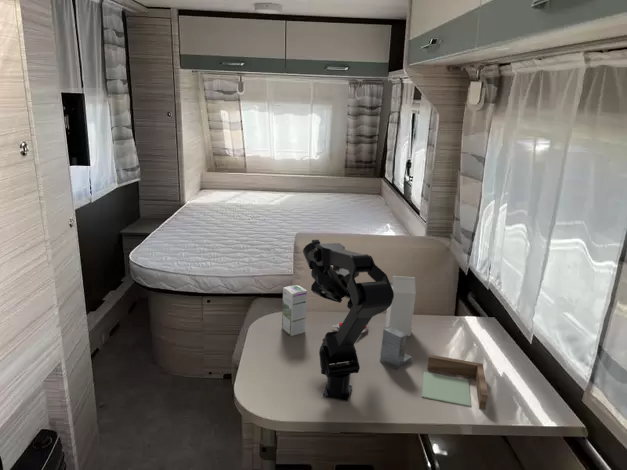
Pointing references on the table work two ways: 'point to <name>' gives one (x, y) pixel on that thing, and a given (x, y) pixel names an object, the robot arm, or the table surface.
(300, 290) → the syrup box
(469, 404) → the mat
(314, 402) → the table surface
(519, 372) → the table surface
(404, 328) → the milk carton
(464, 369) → the brown wooden corner wall
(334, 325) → the swiss army knife
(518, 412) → the table surface
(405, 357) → the gray block
